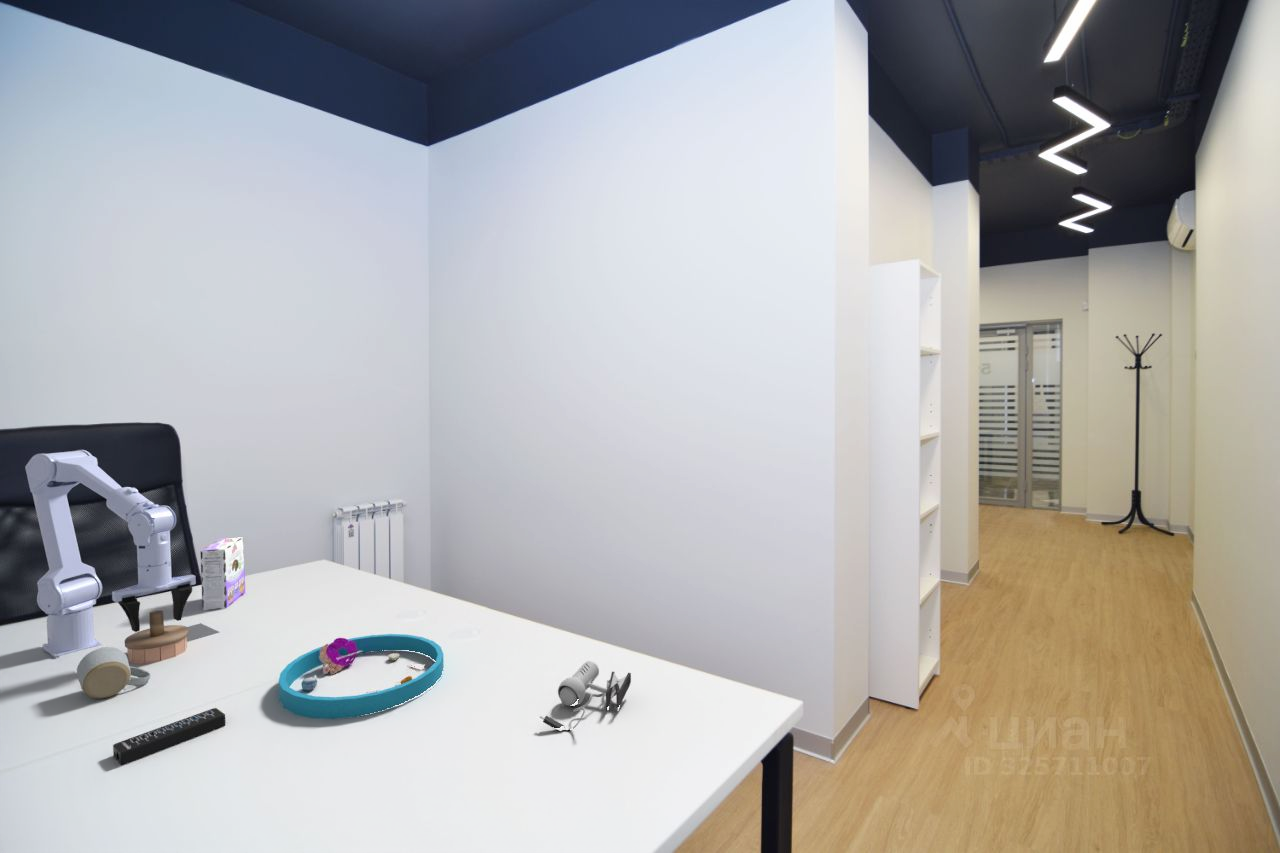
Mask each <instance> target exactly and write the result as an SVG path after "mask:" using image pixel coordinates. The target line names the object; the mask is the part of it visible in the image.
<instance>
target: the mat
mask: <svg viewBox="0 0 1280 853" xmlns="http://www.w3.org/2000/svg"><path fill="white" fill-rule="evenodd" d="M186 627H187V628H188V636H187V643H189V642H191V641H195V640H198V639H202V638H206V637H208V636H212V635H215V634H219V633H220V631H218V630H217V629H214V628H212V627H210V626H208V625H206V624H204V623H202V622H201V623H200V622H199V623H197V624H193V625H189V626H186Z"/></svg>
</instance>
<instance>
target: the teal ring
mask: <svg viewBox="0 0 1280 853" xmlns="http://www.w3.org/2000/svg"><path fill="white" fill-rule="evenodd" d="M382 650H383V651H382ZM384 650H409V651H415V652H420V653H423V654H425V655H428V656H430V657H431V658H432V659H434V660H435V661H436V662H435V663H434V662H433V664H432V665H431V666H429V667H428V668H429V669H427V670H426V671H424V672H423V673H421V674H420V675H418V676H416V677H415V678H413V677H412V675H408V676H406V677H405V678H403V679H402V680H400V681H397V682H396V684H397V683H401V684H399V685H396V686H392V687H388V688H386V689H385V688H384V689H383V690H379V691H378V690H374V691H367V692H365V693H364V694H357V695H348V696H345V695H344V696H316V695H311V694H307V693H302V692H299V691H297V690H295V689H293V688H292V687H291V686H292V685H293V683H294V681H296V680H298V679H299V678H300V677H301V676H303V675H304V674H306V673H307V672H309V671H312V670H314V669H315V668H319V666H322V668H323V669H322V674H323V675H324V676H325V674H326V675H328V673H329V675H335V673H336V674H337V672H341V671H342V670H343V669H344V668H346V667H348V666H349V665H352V664H353V663H354V662H355V659H356V658H357V657H358V656H357V655H361V654H360V653H363V654H367V653H366V652H369V653H372V652H371V651H380V652H385V651H384ZM387 657H388V659H389V660H390V661H391V660H395V659H397V660H399V657H400V653H398V652H393V653H390V654H388V656H387ZM395 661H396V660H395ZM410 665H411V664H410ZM411 666H412V665H411ZM444 666H445V664H444V652H443V650H442V647H441V646H440V645H439V644H438V643H437V642H435V641H434V640H433V639H432V640H431V639H428V638H425V637H422V636H418V635H412V634H399V633H398V634H396V633H386V634H384V633H383V634H371V635H364V636H358V637H352V638H345V637H337V638H336V639H334V640H333V641H332V642H331V643H326V644H324V645H323V646H320V647H317V648H314V649H312V650H310V651H308V652H306V653H304V654H302V655H300V656H298V657H297V658H295V659H294V660H292V661H291V662H289V663H288V664H287V665H286V666H285V667H284V669H282V670H281V672H280V673H279V678H278V700H279V702H280V704H281V705H282V707H283V708H284V710H287V711H289V712H290V713H292V714H293V715H298V716H300V717H305V718H311V719H323V720H340V719H350V718H349V717H351V718H357V716H359V717H362V716H361V715H364V716H366V715H365V714H369V715H371V714H370V713H374V712H378V711H382V710H385V709H387V708H391V707H393V706H395V705H399V704H401V703H404V702H405V701H408V700H409V699H412V698H414V697H415V696H418V695H420V694H421V693H423V692H424V691H426V690H427V689H428V688H430V687H431V686H433V685H434V684H435V683H436V681H437V680H438V679H439V678H440V677H441V675H442V676H443V674H442V671H443V672H444V670H443V668H444ZM414 667H415V666H414ZM332 672H335V673H332ZM441 678H442V677H441ZM317 685H318V680H317V675H316V674H315V675H313V676H310V677H306V678H304V679H303V680H302V681H301V688H302V690H304V691H307V692H309V691H313V690H314V689H315V688H316V687H317ZM374 714H375V713H374ZM337 718H338V719H337ZM339 718H340V719H339Z"/></svg>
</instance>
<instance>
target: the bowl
mask: <svg viewBox="0 0 1280 853" xmlns="http://www.w3.org/2000/svg"><path fill="white" fill-rule="evenodd" d="M126 649H127V650H126V651H127V658H128V662H130V663H132V664H142V665H143V664H144V665H145V664H152V663H158V662H162V661H166V660H169V659H174V658H176V657H177V656H179V655H182V654H183V653H185V652H186V651H187V649H188V642H187V637H185V638H184V639H182V640H180V641H178V642H175V643H172V644H169V645H166V646H162V647H157V648H151V649H141V650H135V649H128V648H126Z"/></svg>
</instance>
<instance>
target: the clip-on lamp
mask: <svg viewBox="0 0 1280 853" xmlns="http://www.w3.org/2000/svg"><path fill="white" fill-rule="evenodd" d="M599 672H600V668H599V666H598V665H597V663H595V662H594V661H590V660H587V661H586V662H584V663H583V664H582V665H581V666H580V668H578V670H577V671H576V672H575V673H573V675H572V676H571V677H567V678H566V679H564V680H562V681H561V682H560V684H559V686H558V688H557V694H558V695H557V696H558V697H559V700H560V701H561V703H562V704H564V705H566V706H567V705H572V704H574V703H575V702H576V701H577V699H579V700H578V704H579V705H581V704H582V703H583V701H584V700H585V697H586V691H587V690H588V689H589V688H590V689H591V690H594V691H596V692H599V693H598V694H597V693H591V694H590V696H589V699H588V701H587V702H586V703H585V704H583V705H581V706H579V705H578V704H577V706H579V707H576V708H574V709H573V710H572V712H577V711H583V712H582V714H581V716H580V718H579V720H578V722H577V723H576V724H575V725H574V726H573V727H572V728H573V730H574V729H575V728H576V727H577V726H578V725H579V723H580V722H581V721H582V719H583V717H584V715H585V713H586V707H587V706H588V705H589V704H590V703H591V701H592V698H593V697H595V698H601V697H603V696H604V695H605V708H606V707H608V706H609V704H611V699H613V698H614V697H615V696H616V708H617V707H619V705H620V704H622V702H623V700H624V698H625V697H626V694H627V692H628V690H629V688H630V686H631V682H632V674H631V672H627V674H626V675H625V676H624V677H622V678H620V679H619V678H618V677H617V676H616V674H615V673H616V672H615V671H611V673H610V674H611V675H610V678H609V679H606V687H603V686H601V685H599V684H594V683H593V682H594V681H595V680H596V679H597V677H598V676H599V675H600V673H599ZM580 703H581V704H580ZM539 718H540V719H542V720H543V721H542V722H543V723H544V724H546V725H547V726H549V727H551V728H553V727H554V728H560V727H561V726H565V725H564V724H562V723H561V722H559V721H557V720H556V719H554V718H551V717H550V716H548V715H545V716H542V715H540V716H539ZM554 728H553V729H554Z"/></svg>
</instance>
